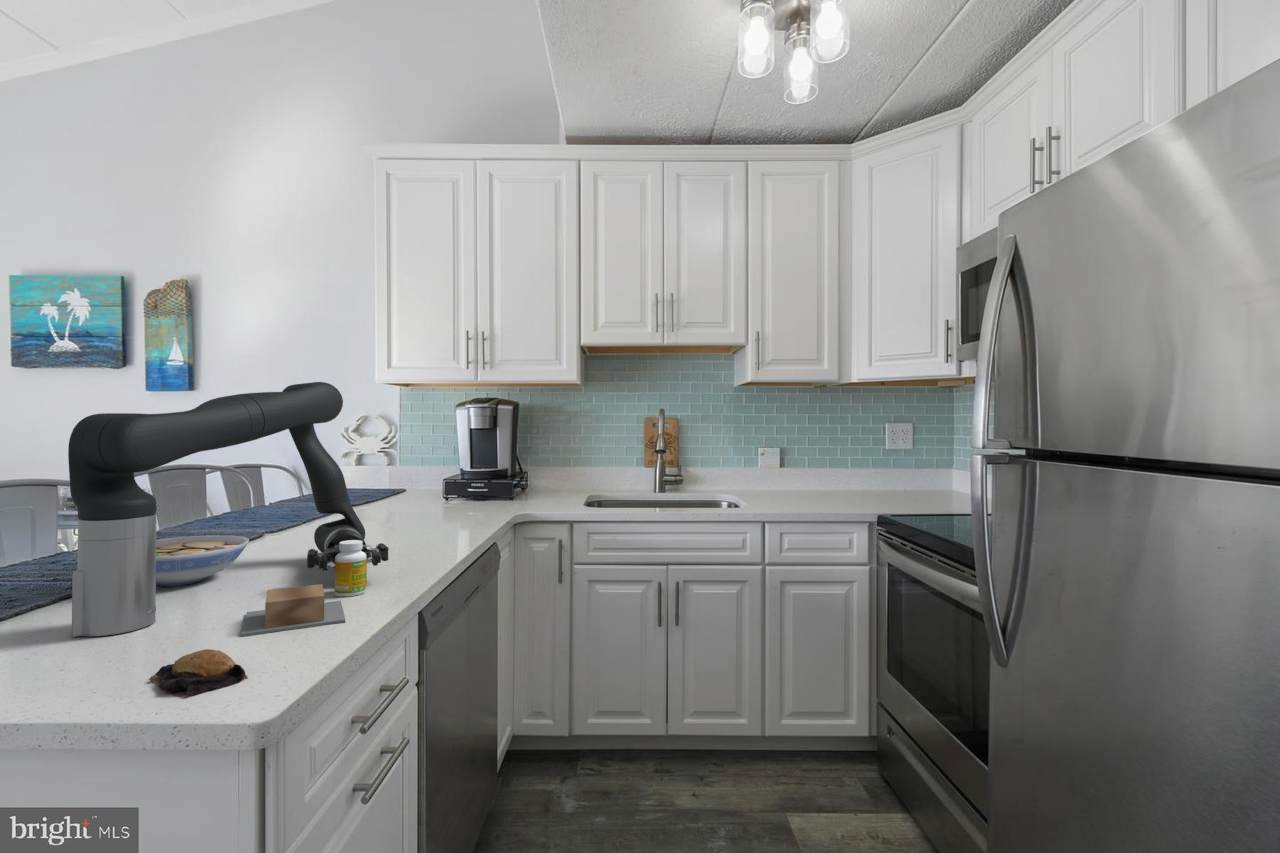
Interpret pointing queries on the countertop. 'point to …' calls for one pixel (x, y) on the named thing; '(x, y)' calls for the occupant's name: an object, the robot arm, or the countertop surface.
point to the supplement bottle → (350, 569)
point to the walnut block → (294, 606)
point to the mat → (257, 625)
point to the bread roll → (198, 674)
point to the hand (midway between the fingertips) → (351, 562)
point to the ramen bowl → (195, 557)
